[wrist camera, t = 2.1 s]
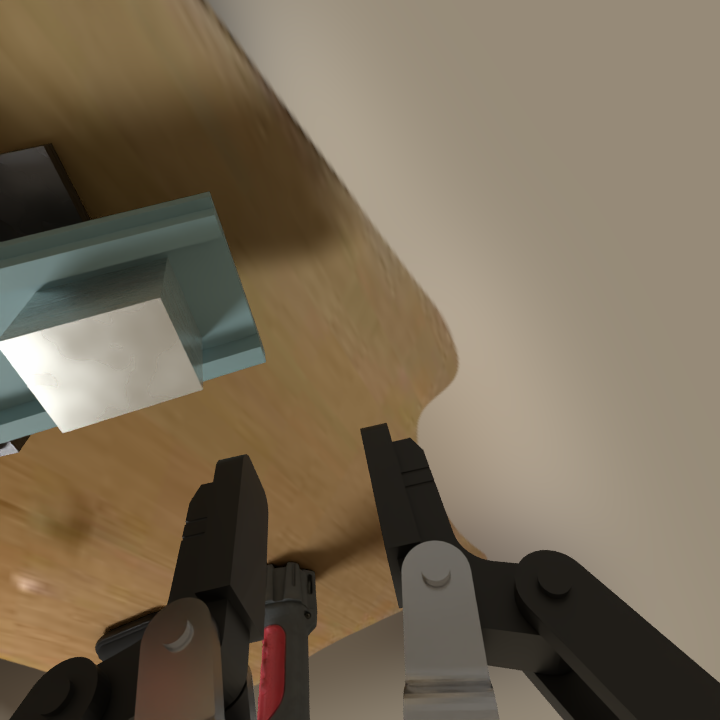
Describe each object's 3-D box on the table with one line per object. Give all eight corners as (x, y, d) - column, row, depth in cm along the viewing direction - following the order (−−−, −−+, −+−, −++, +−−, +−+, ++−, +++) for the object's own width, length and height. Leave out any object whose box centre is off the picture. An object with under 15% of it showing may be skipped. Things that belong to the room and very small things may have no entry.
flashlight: (220, 579, 49) (179, 905, 30) (272, 545, 47) (264, 870, 28) (270, 603, 53) (263, 905, 34) (321, 573, 51) (343, 875, 32)
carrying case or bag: (83, 634, 51) (167, 677, 59) (73, 663, 49) (162, 705, 57) (162, 601, 50) (236, 650, 58) (156, 629, 48) (234, 676, 56)
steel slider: (35, 291, 21) (-5, 342, 17) (167, 257, 22) (160, 297, 17) (86, 371, 23) (62, 433, 19) (202, 338, 24) (203, 389, 20)
